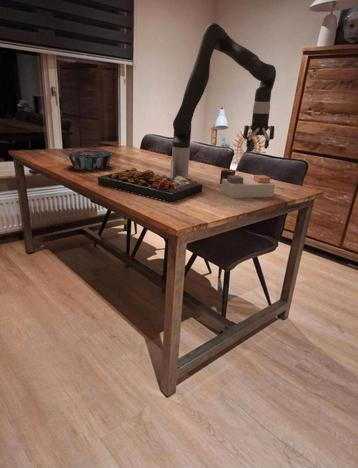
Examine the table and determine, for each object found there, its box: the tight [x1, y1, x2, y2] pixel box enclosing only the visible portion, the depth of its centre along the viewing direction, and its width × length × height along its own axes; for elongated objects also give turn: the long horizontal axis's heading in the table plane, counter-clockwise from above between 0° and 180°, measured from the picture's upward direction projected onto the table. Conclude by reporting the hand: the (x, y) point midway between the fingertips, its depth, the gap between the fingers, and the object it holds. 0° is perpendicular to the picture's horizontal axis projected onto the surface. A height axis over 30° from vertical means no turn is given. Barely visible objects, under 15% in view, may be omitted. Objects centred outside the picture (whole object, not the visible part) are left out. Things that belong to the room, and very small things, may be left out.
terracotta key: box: [253, 174, 271, 183], centre depth 157 cm, size 6×6×4 cm
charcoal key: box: [227, 174, 244, 184], centre depth 153 cm, size 6×6×4 cm
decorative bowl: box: [66, 149, 113, 171], centre depth 196 cm, size 26×28×10 cm
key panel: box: [220, 178, 276, 199], centre depth 157 cm, size 22×12×6 cm, turn 105°
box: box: [219, 168, 236, 185], centre depth 174 cm, size 6×6×7 cm
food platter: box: [97, 167, 203, 204], centre depth 157 cm, size 45×25×10 cm, turn 56°
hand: (257, 148), depth 156 cm, fingers open, 8 cm apart
